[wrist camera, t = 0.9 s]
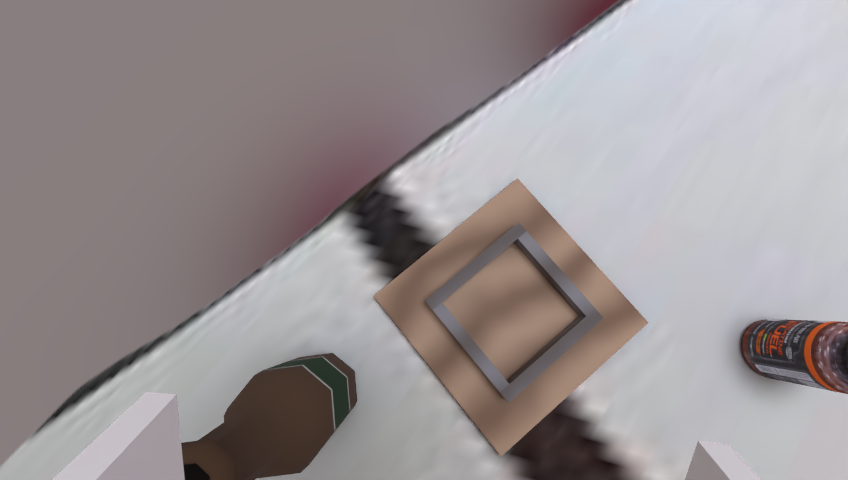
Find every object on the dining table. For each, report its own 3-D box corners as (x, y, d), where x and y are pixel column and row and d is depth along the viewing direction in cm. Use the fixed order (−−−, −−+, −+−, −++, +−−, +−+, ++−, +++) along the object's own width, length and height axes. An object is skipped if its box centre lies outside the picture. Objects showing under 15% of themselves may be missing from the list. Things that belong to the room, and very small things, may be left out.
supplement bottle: (748, 309, 43) (861, 308, 32) (804, 334, 42) (939, 342, 31) (730, 362, 42) (840, 380, 31) (786, 388, 41) (919, 417, 30)
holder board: (643, 322, 43) (659, 323, 40) (499, 453, 40) (504, 464, 38) (515, 181, 45) (521, 172, 42) (374, 296, 43) (370, 295, 40)
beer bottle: (298, 341, 43) (137, 378, 19) (369, 362, 42) (295, 425, 18) (274, 417, 41) (68, 558, 18) (347, 439, 41) (237, 614, 17)
